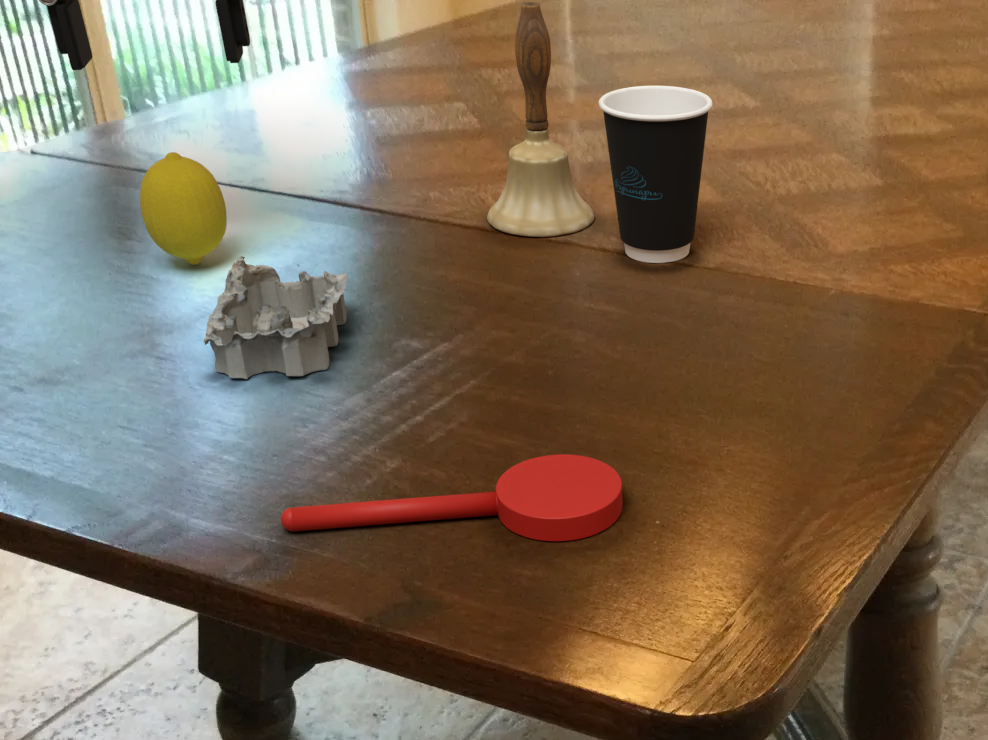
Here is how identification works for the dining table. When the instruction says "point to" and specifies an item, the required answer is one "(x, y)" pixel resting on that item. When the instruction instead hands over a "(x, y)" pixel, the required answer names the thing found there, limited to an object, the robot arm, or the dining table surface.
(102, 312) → the dining table surface
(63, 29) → the robot arm
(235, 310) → the egg carton
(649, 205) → the dixie cup
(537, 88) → the hand bell
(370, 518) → the red lollipop
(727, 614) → the dining table surface
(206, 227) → the lemon
